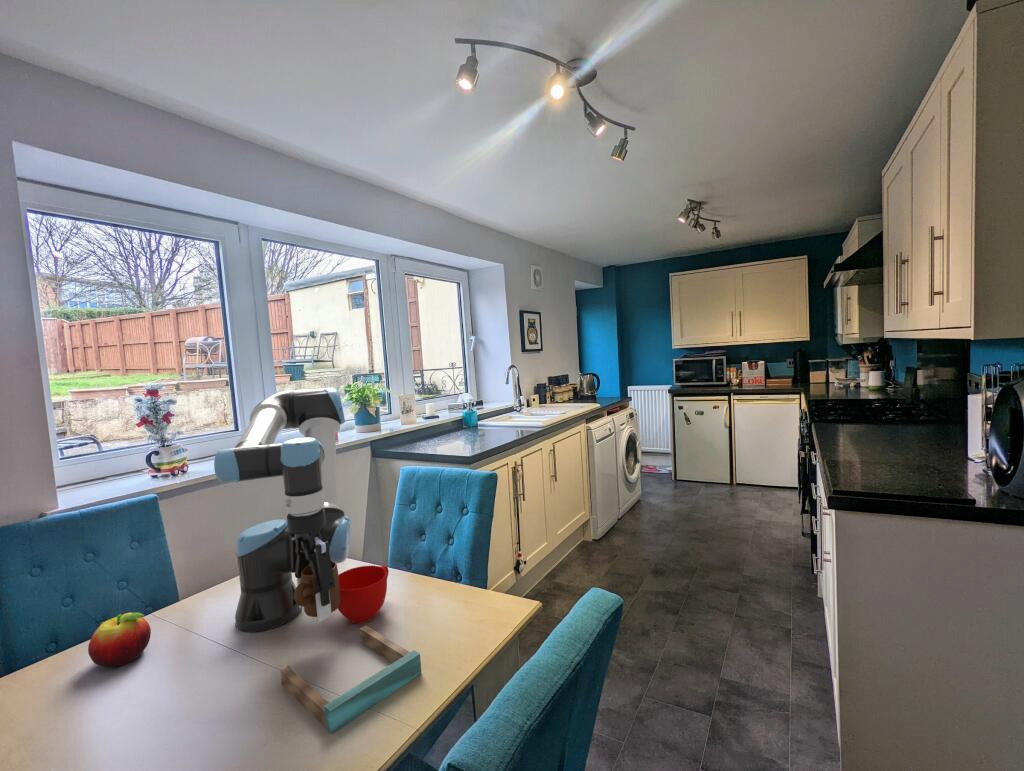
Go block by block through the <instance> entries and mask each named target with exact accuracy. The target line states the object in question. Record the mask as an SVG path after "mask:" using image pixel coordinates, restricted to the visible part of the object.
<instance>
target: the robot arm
mask: <svg viewBox="0 0 1024 771" xmlns="http://www.w3.org/2000/svg"><path fill="white" fill-rule="evenodd" d="M345 422H346V419H345V414H344V408H343V403H342V398H341V395H340V392H339V390H338V389H337V388H335V387H321V388H311V389H294V390H284V391H283V390H282V391H279V392H276V393H274V394H272V395H269V396H268V397H266V398H265V399H263V400H261V401H260V402H258V403H257V404H256V405H255V407H254V408H253V409H252V410H251V412H250V415H249V423H248V425H247V427H246V428H245V430H244V431H243V433H242V435H241V437H240V438H239V439H238V441H237V443H236V445H235V446H234V447H228V448H224V449H219V450H218V451H217V452H216V453H215V456H214V459H213V460H214V462H213V465H214V466H213V468H214V473H215V474H214V475H215V477H216V480H217V481H218V482H220V483H239V482H243V481H244V482H245V481H252V480H259V479H260V480H261V479H262V480H263V479H267V478H275V477H276V478H277V477H283V486H284V497H285V498H284V499H285V500H283V505H284V506H285V509H286V510H285V511H286V512H287V515H286V519H283V518H281V519H273V520H272V519H271V520H267V521H264V522H261V523H259V524H255V525H253V526H251V527H250V528H247V529H245V530H244V531H243V532H241V533H240V534H239V535H238V536H237V538H236V553H235V555H236V558H237V568H238V576H239V586H240V594H239V599H238V603H237V608H236V611H235V615H234V616H235V617H234V619H235V627H236V629H237V630H239V631H240V632H246V633H254V632H257V633H258V632H264V631H267V630H271V629H274V628H277V627H279V626H282V625H284V624H286V623H288V622H290V621H292V620H293V619H294V618H295V617H297V616H298V615H299V614H300V612H301V611H302V609H304V606H299V605H297V603H296V602H295V599H294V593H295V589H296V587H297V586H298V585H299V584H300V583H301V572H302V570H303V569H304V568H305V567H306V566H308V565H311V568H312V572H313V576H314V580H315V583H316V587H317V590H316V591H314V593H315V596H316V607H317V617H316V618H317V621H318V622H319V623H320V622H322V621H324V620H326V619H328V618H330V617H332V613H331V603H330V592H329V589H331V588H334V587H335V583H334V577H333V571H332V565H331V561H333V562H335V563H336V564H337V565H338V564H341V563H344V562H345V561H346V560H347V558H348V556H349V550H350V543H351V541H350V540H351V517H349V516H347V515H345V511H344V509H342V508H341V507H339V492H338V491H339V490H338V470H337V448H336V447H337V445H336V444H337V443H336V434H337V433H338V432H339V431H341V425H343V424H345ZM290 429H298V431H299V433H300V434H301V435H303V437H295V438H293V439H288V440H285V441H283V442H281V443H280V442H279V443H275V441H276V439H277V436H278V435H279V433H280V432H281V431H282V430H290ZM292 574H294V577H295V578H296V584H295V582H294V580H293V576H292Z"/></svg>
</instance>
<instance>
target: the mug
mask: <svg viewBox="0 0 1024 771" xmlns="http://www.w3.org/2000/svg"><path fill="white" fill-rule="evenodd" d="M331 565H332V571H333V577H334V583H335V587H334V588H331V589H329V592H330V603H331V614H332V613H334V612H335V611H336V610H338V607H339V605H340V587H339V576H338V575H339V570H338V563H337V564H336V563H335V562H333V561H331ZM316 590H317V587H316V583H315V580H314V576H313V572H312V568H311V565H308V566H306V567H305V568H304V569H303V570H302V572H301V583H300V584H299V585H298V586H297V585H296V589H295V593H294V599H295V602H296V603H297V605H299V606H304V607H303V611H304V613H305V614H306V615H307V616H309V617H312V618H318V617H317V607H316V596H315V593H314V591H316Z"/></svg>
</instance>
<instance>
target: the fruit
mask: <svg viewBox="0 0 1024 771" xmlns="http://www.w3.org/2000/svg"><path fill="white" fill-rule="evenodd" d="M145 616H146V615H144V614H143V613H141V612H137V611H136V612H127V613H124V614H122V613H120V614H118V615H117V616H115V617H113V618H110V619H107V620H106V621H103V622H102V623H101V624H100V625H99V626H98V627H97V629H95V631H94V633H93V634H92V636H91V637H90V640H89V643H88V647H87V652H88V655H89V658H90V659H91V661H92V663H93V664H95V665H97V666H99V667H102V668H108V669H112V668H117V667H120V666H123V665H126V664H129V663H131V662H132V661H134V660H135V659H137V658H138V657H139V656H140V655H141V654H142V653H143V652H144V651H145V650H146V648H147V646H148V645H149V643H150V638H151V635H152V630H151V626H150V623H148V622H149V621H147V620H146V619H145V618H144V617H145Z"/></svg>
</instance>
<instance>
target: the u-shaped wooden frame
mask: <svg viewBox="0 0 1024 771" xmlns="http://www.w3.org/2000/svg"><path fill="white" fill-rule="evenodd" d="M359 631H360V632H359V633H360V642H361V643H363V644H365V645H366V646H367V647H369V648H370V649H372V650H373V651H375V652H376V653H378V654H380V655H381V656H383V657H384V658H386V659H388V660H389V661H390V662H392V663H391V664H389V665H388V666H386V667H384V668H383V669H381V670H379V671H378V672H377V673H374V674H373V675H371V677H368V678H367V679H365V680H364V681H362V682H360V683H358V684H357V685H356V686H354V687H353V688H350V690H347V691H345V692H344V693H343V694H341V695H340V696H338V697H336V698H335V699H333V700H331V701H330V702H329V701H327V699H325V698H324V697H323V696H322V695H321V694H320V693H318V691H316V690H315V689H314V688H313V687H312V686H311V685H310V684H309V683H308V682H306V681H305V680H304V679H303V678H302V677H301V676H300V675H299V674H298V673H296V672H295V670H293V669H292V668H291V667H290V666H286V667H284V668H281V669H280V680H281V681H280V682H281V686H282V687H283V688H285V689H286V690H287V691H288V693H290V694H291V695H292V696H293V697H294V699H295V700H297V701H298V703H300V704H301V705H302V706H303V707H304V708H305V709H306V710H307V711H308V712H309V713H310V714H311V715H312V716H313V717H314V718H315V719H316V720H317V721H318V722H319V723H320V724H321V725H322V726H324V728H325V729H326V730H327V731H328V732H329V733H330V734H333V733H335V732H336V731H338V730H340V729H341V728H342V727H344V726H345V725H347V724H348V723H351V721H353V720H355V719H356V718H358V717H359V716H360V715H362V714H363V713H365V712H366V711H368V710H369V709H370V708H372V707H373V706H375V705H376V704H378V703H380V702H381V701H382V700H384V699H385V698H387V697H388V696H390V695H391V694H392V693H394V692H395V691H397V690H399V689H400V688H401V687H403V686H404V685H406V684H408V683H409V682H410V681H412V680H414V678H416V677H418V676H419V675H420V674H422V664H421V663H422V662H421V654H420V652H418V651H416V650H415V649H414V650H412V651H409V650H407V649H405V648H404V647H402V646H401V645H399V644H397V643H396V642H394V641H393V640H392V639H389V638H387V637H385V636H384V635H383V634H381V633H379V632H378V631H376V630H374V629H373V628H372V627H369V626H368V625H364V626H362V627H360V628H359Z"/></svg>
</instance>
